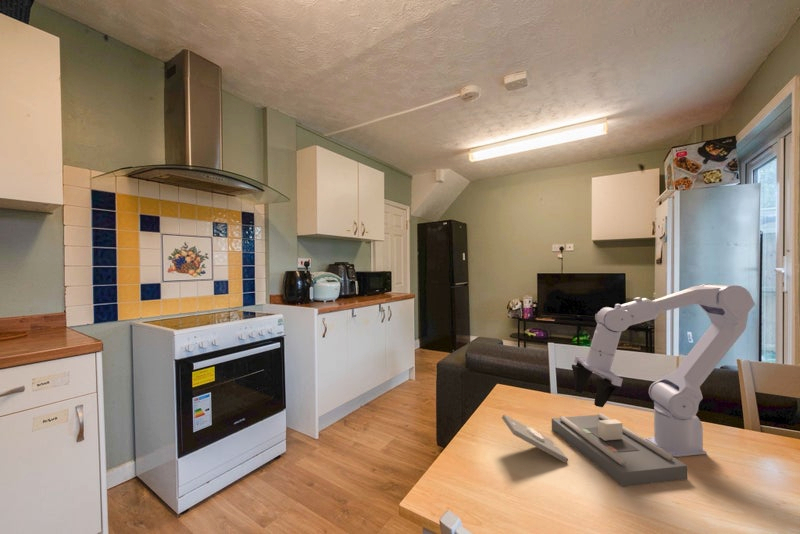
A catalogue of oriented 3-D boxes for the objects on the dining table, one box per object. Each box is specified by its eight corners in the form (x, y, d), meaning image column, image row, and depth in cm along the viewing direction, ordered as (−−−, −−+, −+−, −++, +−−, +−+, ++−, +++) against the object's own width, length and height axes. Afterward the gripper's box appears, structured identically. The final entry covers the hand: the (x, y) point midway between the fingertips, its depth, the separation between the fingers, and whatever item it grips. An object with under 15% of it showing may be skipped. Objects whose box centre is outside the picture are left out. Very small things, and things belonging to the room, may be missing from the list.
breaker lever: (615, 434, 80) (615, 419, 80) (622, 438, 78) (622, 422, 78) (598, 436, 79) (598, 420, 79) (604, 440, 77) (604, 424, 77)
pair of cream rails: (600, 416, 90) (600, 412, 90) (673, 460, 70) (673, 454, 70) (558, 420, 88) (558, 415, 88) (620, 466, 68) (620, 459, 68)
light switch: (571, 456, 74) (517, 427, 74) (559, 478, 74) (505, 449, 74) (553, 436, 82) (504, 410, 82) (542, 456, 82) (494, 430, 82)
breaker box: (601, 424, 92) (601, 414, 92) (687, 479, 68) (687, 465, 68) (551, 428, 90) (551, 418, 90) (622, 486, 66) (622, 472, 66)
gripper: (570, 339, 90) (557, 383, 91) (611, 358, 76) (595, 410, 77) (591, 344, 92) (578, 388, 92) (635, 364, 77) (619, 415, 78)
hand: (587, 398), depth 85 cm, fingers open, 7 cm apart
